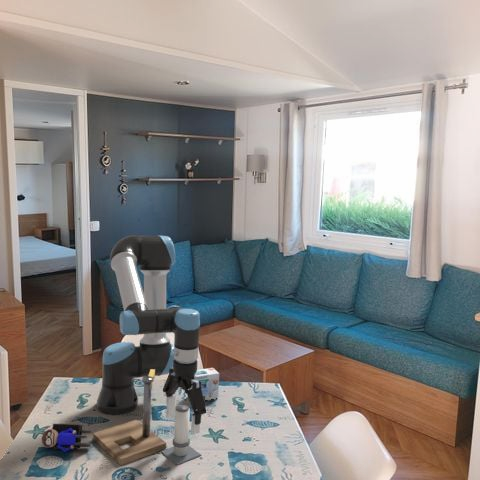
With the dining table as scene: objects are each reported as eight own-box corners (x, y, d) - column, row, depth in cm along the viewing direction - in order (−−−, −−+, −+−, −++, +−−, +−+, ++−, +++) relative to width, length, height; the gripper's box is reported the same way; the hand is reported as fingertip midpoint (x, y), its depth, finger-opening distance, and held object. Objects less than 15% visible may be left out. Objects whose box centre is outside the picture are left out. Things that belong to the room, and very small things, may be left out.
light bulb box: (194, 403, 191) (195, 376, 190) (187, 396, 197) (188, 370, 196) (218, 399, 196) (220, 373, 195) (211, 392, 202) (213, 367, 201)
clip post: (138, 435, 160) (140, 377, 158) (147, 432, 163) (149, 375, 161) (143, 440, 158) (146, 381, 156) (153, 437, 160) (155, 378, 158)
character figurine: (87, 456, 151) (39, 454, 151) (94, 442, 158) (48, 440, 158) (87, 433, 149) (38, 431, 149) (94, 420, 156) (47, 418, 156)
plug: (168, 451, 154) (170, 406, 153) (182, 446, 158) (184, 402, 157) (178, 458, 150) (180, 412, 149) (192, 453, 154) (194, 408, 153)
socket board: (92, 439, 160) (93, 433, 160) (136, 425, 171) (136, 419, 171) (120, 465, 146) (121, 459, 146) (166, 448, 157) (166, 442, 157)
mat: (161, 452, 154) (161, 451, 154) (184, 443, 160) (184, 442, 160) (177, 465, 148) (177, 464, 148) (201, 455, 154) (201, 454, 154)
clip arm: (155, 377, 173) (156, 368, 173) (151, 392, 160) (152, 383, 160) (149, 377, 173) (149, 368, 173) (144, 392, 160) (144, 383, 160)
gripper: (153, 349, 158) (151, 411, 161) (199, 375, 140) (196, 445, 142) (173, 345, 163) (170, 405, 166) (220, 370, 145) (216, 437, 147)
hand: (182, 424), depth 154 cm, fingers open, 13 cm apart
